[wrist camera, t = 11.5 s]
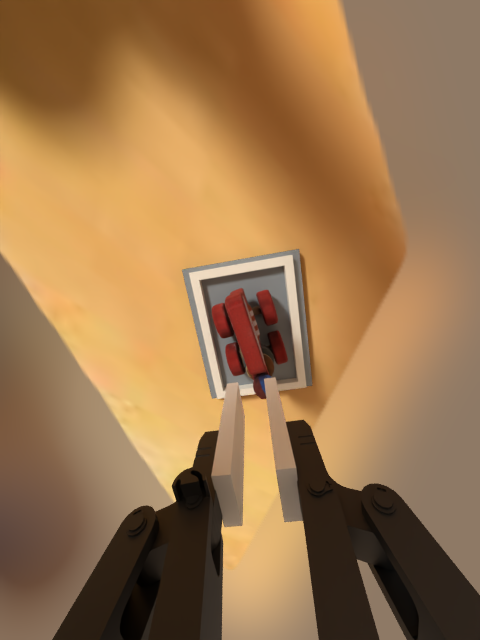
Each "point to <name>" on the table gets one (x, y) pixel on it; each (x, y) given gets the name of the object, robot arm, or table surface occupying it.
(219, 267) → the base board
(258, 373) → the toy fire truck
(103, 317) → the table surface
